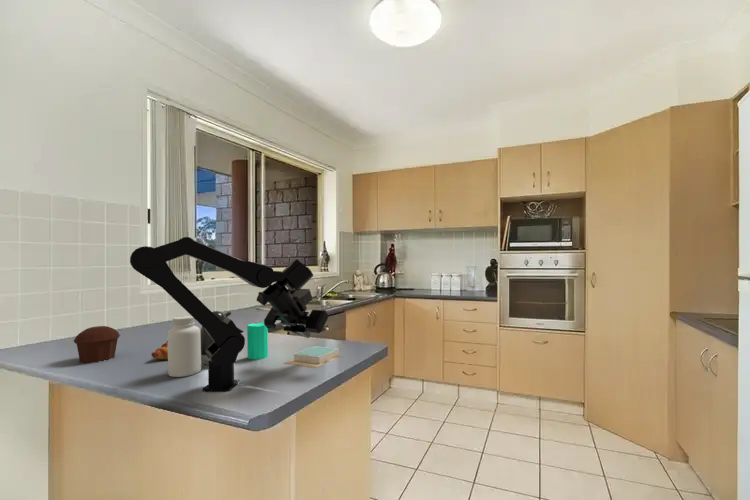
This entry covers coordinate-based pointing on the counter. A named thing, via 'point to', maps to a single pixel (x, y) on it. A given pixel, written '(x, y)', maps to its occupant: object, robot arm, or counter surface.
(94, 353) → the muffin
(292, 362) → the mat
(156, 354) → the croissant
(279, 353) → the counter surface
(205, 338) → the pump dispenser
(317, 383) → the counter surface
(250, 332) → the candle
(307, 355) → the tile
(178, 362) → the pill bottle
